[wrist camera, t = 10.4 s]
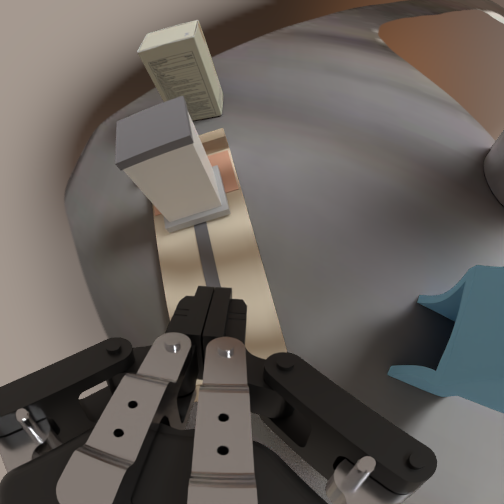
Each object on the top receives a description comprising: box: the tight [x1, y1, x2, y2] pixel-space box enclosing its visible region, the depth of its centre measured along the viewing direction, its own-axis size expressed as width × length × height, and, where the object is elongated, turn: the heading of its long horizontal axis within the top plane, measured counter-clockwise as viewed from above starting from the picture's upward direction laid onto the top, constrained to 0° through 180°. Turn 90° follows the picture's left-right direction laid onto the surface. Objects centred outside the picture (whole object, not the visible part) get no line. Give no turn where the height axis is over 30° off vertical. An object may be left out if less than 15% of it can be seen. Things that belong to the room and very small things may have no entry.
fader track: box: [152, 128, 287, 402], centre depth 26 cm, size 24×9×4 cm, turn 15°
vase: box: [387, 265, 504, 413], centre depth 13 cm, size 8×8×20 cm
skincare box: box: [137, 20, 223, 121], centre depth 29 cm, size 6×4×12 cm
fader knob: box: [115, 96, 231, 233], centre depth 23 cm, size 5×6×11 cm
